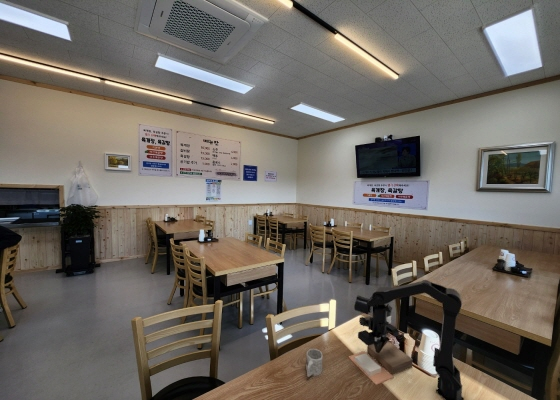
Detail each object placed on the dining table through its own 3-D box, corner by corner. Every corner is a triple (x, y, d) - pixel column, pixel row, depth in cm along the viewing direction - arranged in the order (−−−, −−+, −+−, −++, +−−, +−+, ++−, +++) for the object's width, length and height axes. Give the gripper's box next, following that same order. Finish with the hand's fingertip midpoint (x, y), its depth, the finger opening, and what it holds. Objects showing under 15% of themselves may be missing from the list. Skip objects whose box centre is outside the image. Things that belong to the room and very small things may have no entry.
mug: (309, 361, 101) (310, 346, 101) (324, 367, 97) (324, 352, 97) (300, 376, 92) (300, 360, 92) (315, 384, 89) (316, 367, 89)
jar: (370, 326, 128) (371, 306, 127) (380, 323, 132) (381, 303, 131) (384, 336, 120) (385, 313, 119) (394, 331, 124) (395, 310, 123)
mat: (393, 377, 93) (393, 376, 93) (376, 385, 89) (376, 384, 89) (364, 351, 108) (364, 351, 108) (348, 357, 104) (348, 356, 104)
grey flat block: (370, 371, 93) (370, 376, 93) (381, 367, 95) (380, 372, 95) (354, 356, 101) (354, 361, 101) (365, 353, 103) (365, 357, 103)
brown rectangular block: (412, 367, 99) (412, 359, 99) (392, 375, 94) (392, 367, 94) (385, 346, 112) (385, 339, 112) (367, 352, 107) (367, 345, 107)
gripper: (380, 305, 110) (378, 336, 111) (349, 312, 103) (348, 345, 104) (400, 317, 100) (398, 351, 101) (368, 326, 93) (366, 363, 93)
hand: (377, 352), depth 100 cm, fingers closed
